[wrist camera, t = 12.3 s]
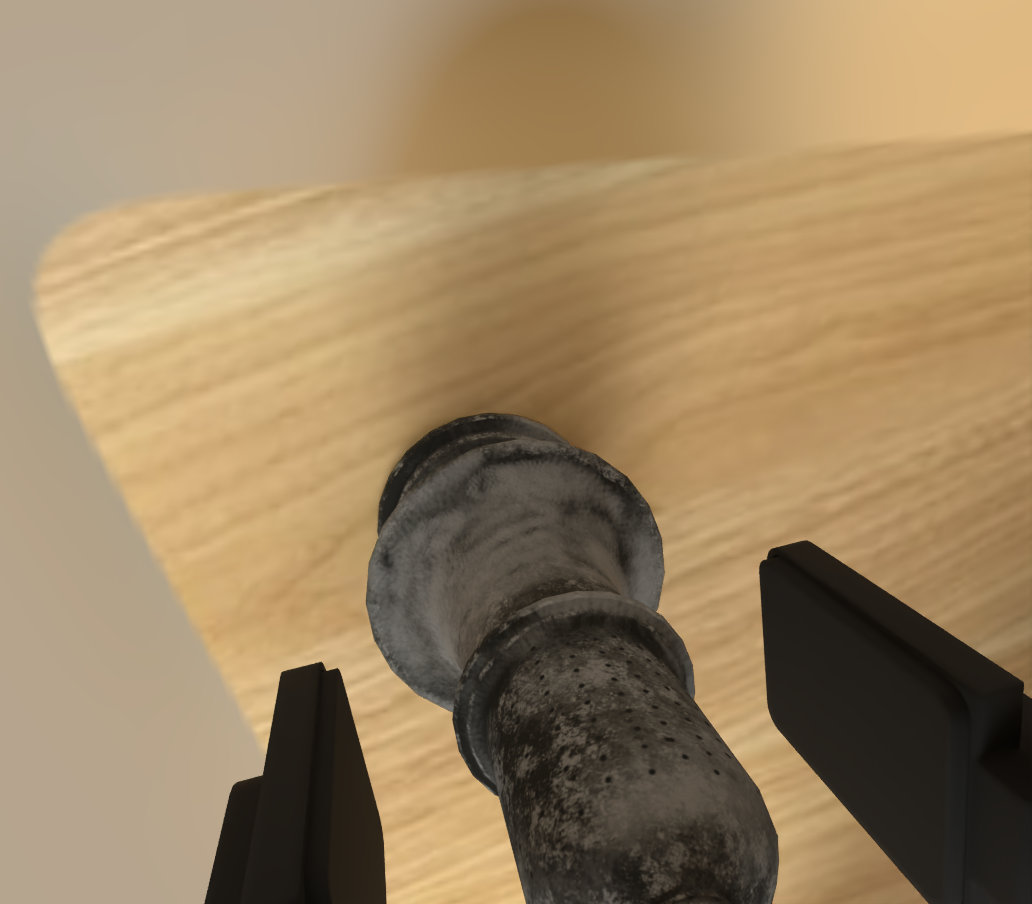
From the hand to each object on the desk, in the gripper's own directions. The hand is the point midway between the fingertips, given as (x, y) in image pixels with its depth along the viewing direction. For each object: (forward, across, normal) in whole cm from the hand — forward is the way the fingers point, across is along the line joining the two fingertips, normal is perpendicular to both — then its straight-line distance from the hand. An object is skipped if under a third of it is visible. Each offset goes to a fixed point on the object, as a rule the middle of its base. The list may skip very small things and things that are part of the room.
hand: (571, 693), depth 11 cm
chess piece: (+7, 0, 0) cm, 7 cm away
